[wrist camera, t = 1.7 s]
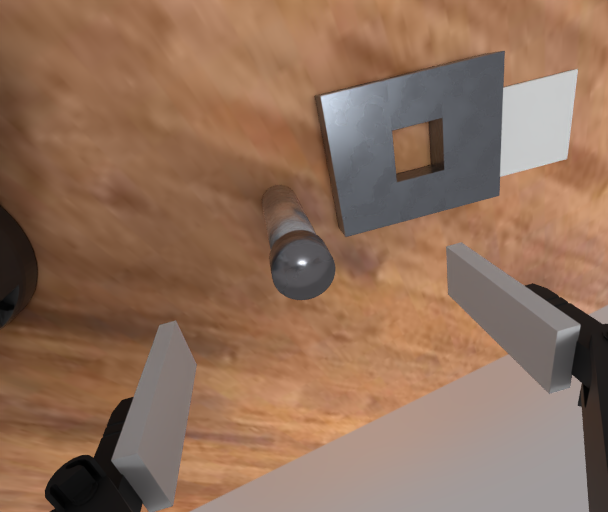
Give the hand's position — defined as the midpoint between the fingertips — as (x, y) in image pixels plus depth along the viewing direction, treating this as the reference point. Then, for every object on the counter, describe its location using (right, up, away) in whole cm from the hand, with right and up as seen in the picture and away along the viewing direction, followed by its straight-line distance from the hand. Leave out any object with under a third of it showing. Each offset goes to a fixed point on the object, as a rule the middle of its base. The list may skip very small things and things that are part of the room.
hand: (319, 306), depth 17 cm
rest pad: (+20, +15, +16) cm, 30 cm away
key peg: (-3, +7, +16) cm, 17 cm away
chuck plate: (+9, +12, +15) cm, 21 cm away
